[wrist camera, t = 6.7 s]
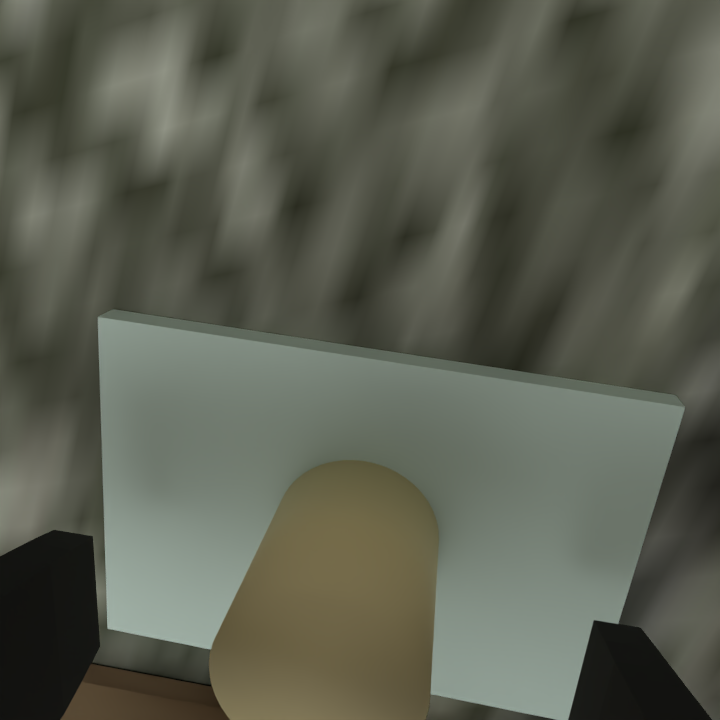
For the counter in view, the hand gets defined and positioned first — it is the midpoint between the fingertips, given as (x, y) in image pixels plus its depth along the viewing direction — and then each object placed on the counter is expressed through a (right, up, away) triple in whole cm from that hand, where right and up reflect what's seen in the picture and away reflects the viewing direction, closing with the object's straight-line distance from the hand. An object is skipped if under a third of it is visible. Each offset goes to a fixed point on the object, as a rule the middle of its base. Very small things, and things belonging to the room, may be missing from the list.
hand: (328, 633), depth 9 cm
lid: (+1, +1, +4) cm, 4 cm away
